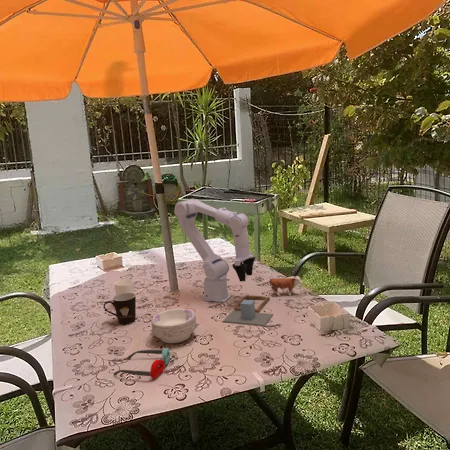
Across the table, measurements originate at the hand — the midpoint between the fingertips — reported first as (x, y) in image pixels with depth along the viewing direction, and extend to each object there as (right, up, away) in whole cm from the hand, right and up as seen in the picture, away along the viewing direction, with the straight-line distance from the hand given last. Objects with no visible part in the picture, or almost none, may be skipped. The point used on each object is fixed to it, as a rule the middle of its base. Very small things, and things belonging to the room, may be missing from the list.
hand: (246, 278), depth 187 cm
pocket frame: (+2, -11, 0) cm, 11 cm away
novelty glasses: (-33, -23, -44) cm, 60 cm away
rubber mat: (0, -13, -13) cm, 19 cm away
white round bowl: (-25, -18, -25) cm, 40 cm away
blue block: (0, -13, -13) cm, 19 cm away
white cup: (-50, -13, +10) cm, 52 cm away
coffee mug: (-47, -16, -7) cm, 50 cm away
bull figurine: (+17, -8, +8) cm, 21 cm away
